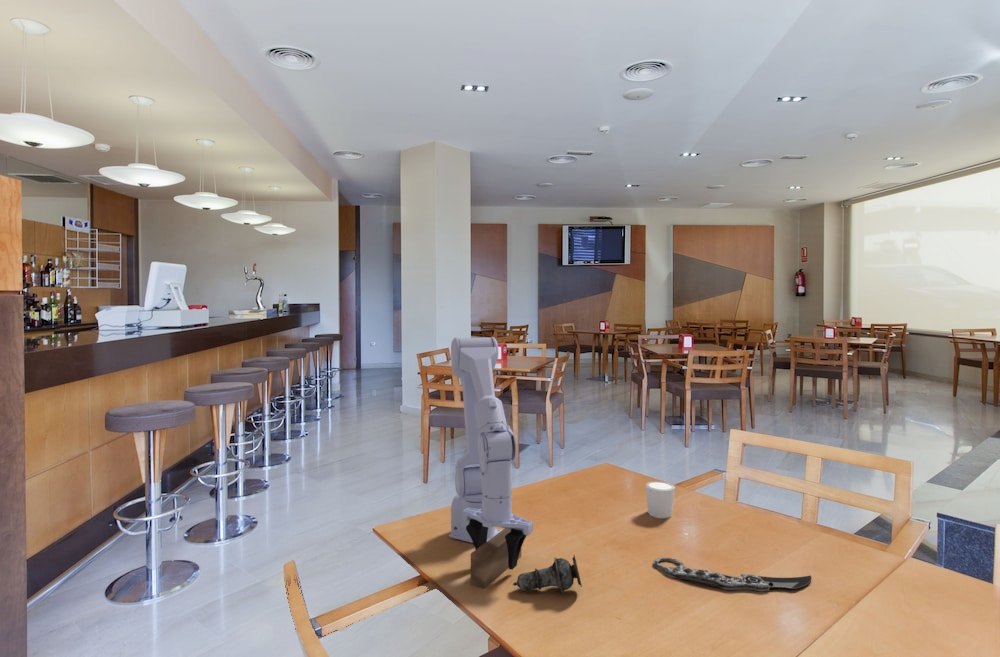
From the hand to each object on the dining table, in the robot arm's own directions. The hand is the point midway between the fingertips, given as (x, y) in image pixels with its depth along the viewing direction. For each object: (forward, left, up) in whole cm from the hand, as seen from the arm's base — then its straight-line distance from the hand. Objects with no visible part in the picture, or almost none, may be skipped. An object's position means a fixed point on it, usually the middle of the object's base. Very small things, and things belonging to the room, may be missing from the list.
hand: (497, 562), depth 103 cm
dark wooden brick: (0, 0, -2) cm, 2 cm away
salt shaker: (+17, +1, +2) cm, 17 cm away
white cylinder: (+21, +43, -2) cm, 48 cm away
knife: (+40, +19, -2) cm, 44 cm away
